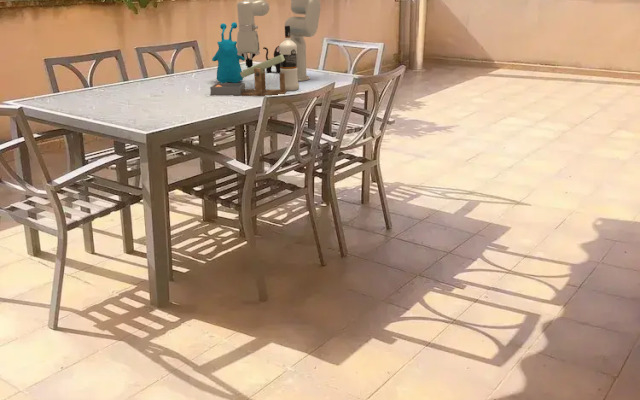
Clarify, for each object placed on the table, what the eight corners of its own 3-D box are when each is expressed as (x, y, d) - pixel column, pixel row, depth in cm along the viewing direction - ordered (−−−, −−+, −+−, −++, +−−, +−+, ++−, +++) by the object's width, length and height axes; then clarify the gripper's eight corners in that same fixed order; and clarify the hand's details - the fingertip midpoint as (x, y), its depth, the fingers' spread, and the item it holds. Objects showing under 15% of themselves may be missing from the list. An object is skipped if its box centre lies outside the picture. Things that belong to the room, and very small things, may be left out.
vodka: (292, 87, 338) (290, 24, 328) (302, 89, 331) (301, 25, 321) (276, 89, 334) (273, 25, 323) (286, 92, 326) (283, 27, 316)
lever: (289, 59, 330) (285, 51, 328) (284, 64, 314) (280, 55, 313) (248, 76, 334) (245, 68, 333) (241, 82, 319) (237, 73, 318)
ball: (214, 85, 326) (221, 83, 326) (217, 92, 327) (224, 90, 326) (212, 87, 323) (219, 84, 322) (215, 94, 324) (222, 91, 323)
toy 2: (284, 74, 375) (283, 46, 370) (261, 73, 380) (259, 45, 375) (291, 72, 382) (290, 44, 377) (267, 71, 387) (266, 43, 382)
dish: (216, 91, 331) (215, 83, 329) (245, 91, 329) (244, 83, 328) (210, 95, 321) (210, 87, 320) (240, 95, 319) (240, 87, 318)
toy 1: (247, 78, 364) (244, 20, 354) (245, 84, 347) (242, 23, 337) (216, 79, 364) (212, 20, 354) (212, 85, 347) (207, 24, 337)
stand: (286, 91, 327) (285, 64, 323) (283, 96, 317) (282, 68, 313) (246, 91, 329) (245, 65, 325) (241, 95, 319) (239, 68, 315)
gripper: (263, 27, 326) (266, 65, 333) (233, 27, 328) (236, 66, 334) (261, 29, 319) (263, 68, 326) (229, 29, 321) (232, 69, 327)
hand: (249, 67), depth 330 cm, fingers closed
